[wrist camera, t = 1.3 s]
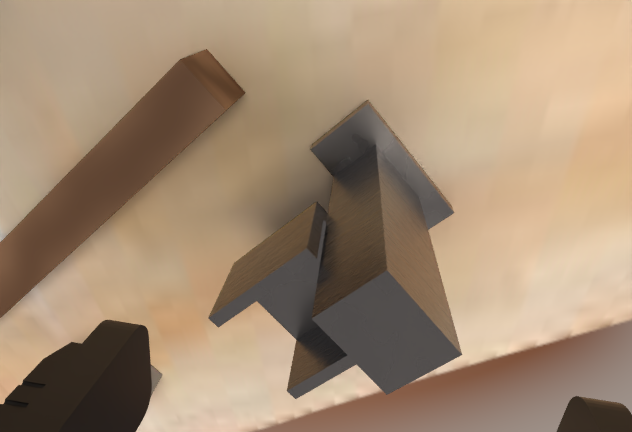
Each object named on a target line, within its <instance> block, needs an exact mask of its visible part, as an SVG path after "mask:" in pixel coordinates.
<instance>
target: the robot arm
mask: <svg viewBox="0 0 632 432" xmlns="http://www.w3.org/2000/svg"><path fill="white" fill-rule="evenodd" d="M151 391H152V379H151V364H150V350H149V335H148V330H147V328H146V327H145V326H143V325H137V324H131V323H125V322H119V321H112V320H105V321H103V322H101V323H100V324H99V325H98V326H97V328H96V329H95V330H94V331H93V332H92V333H91V334H90V335H89V337H88V338H87V339H86V340H85V341H84V342H83V343H82V344H80V343H74V342H71V343H69V344H68V345H66V346H64V347H63V348H61V349H59V350H58V351H56V352H54V353H53V354H51V355H49V356H48V357H46V358H44V359H43V360H42V361H41V362H40V363H39V364H38V365H37V366H36V367H35V369H34V370H33V371H32V372H31V373H30V374H29V375H28V376H27V377H26V378H25V379H24V380H23V383H22V385H18V386H17V387H16V388H15V389H14V390H13V392H12V393H11V394H10V395H9V396H8V397H7V398H6V399H5V402H4V404H0V432H136V430H137V428H138V427H139V425H140V423H141V421H142V420H143V418H144V416H145V413H146V411H147V408H148V405H149V402H150V397H151ZM557 432H632V415H631V413H630V411H629V410H628V409H627V408H626V407H625V406H624V405H623V404H621V403H616V402H609V401H603V400H597V399H591V398H585V397H579V396H576V397H573V398H572V399H571V400H570V402H569V403H568V406H567V408H566V410H565V413H564V415H563V418H562V420H561V422H560V425H559V427H558V430H557Z"/></svg>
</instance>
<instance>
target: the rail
mask: <svg viewBox="0 0 632 432" xmlns="http://www.w3.org/2000/svg"><path fill="white" fill-rule="evenodd" d="M244 94H245V92H244V91H243V89H242V88H241V87H240V86H239V85H238V84H237V83H236V82H235V80H234V79H233V78H232V77H231V76H230V75H229V74H228V73H227V71H226V70H225V69H224V68H223V67H222V66H221V65H220V63H219V62H218V61H217V60H216V59H215V58H214V57H213V56H212V54H211V53H210V52H209V51H208V50H207V49H206V50H204V51H201V52H198V53H196V54H193V55H191V56H188V57H186V58H183V59H180V60H179V61H178V62H177V63H176V64H175V65H174V66H173V67H172V68H171V69H170V70H169V71H168V72H167V73H166V74H165V75H164V76H163V77H162V79H161V80H160V81H159V82H158V83H157V84H156V85H155V86H154V87H153V88H152V89H151V90H150V91H149V92H148V93H147V94H146V95H145V96H144V97H143V98H142V99H141V100H140V101H139V102H138V103H137V104H136V105H135V106H134V107H133V108H132V109H131V110H130V111H129V112H128V113H127V114H126V115H125V116H124V117H123V118H122V119H121V120H120V121H119V122H118V123H117V124H116V125H115V126H114V127H113V128H112V129H111V130H110V131H109V132H108V134H107V135H106V136H105V137H104V138H103V139H102V140H101V141H100V142H99V143H98V144H97V145H96V146H95V147H94V148H93V149H92V150H91V151H90V152H89V153H88V154H87V155H86V156H85V157H84V158H83V159H82V160H81V161H80V162H79V163H78V164H77V165H76V166H75V167H74V168H73V169H72V170H71V171H70V172H69V173H68V174H67V175H66V176H65V177H64V178H63V179H62V180H61V181H60V182H59V183H58V184H57V185H56V186H55V187H54V189H53V190H52V191H51V192H50V193H49V194H48V195H47V196H46V197H45V198H44V199H43V200H42V201H41V202H40V203H39V204H38V205H37V206H36V207H35V208H34V209H33V210H32V211H31V212H30V213H29V214H28V215H27V216H26V217H25V218H24V219H23V220H22V221H21V222H20V223H19V224H18V225H17V226H16V227H15V228H14V229H13V230H12V231H11V232H10V233H9V234H8V235H7V236H6V237H5V238H4V239H3V240H2V241H1V242H0V318H1V317H2V316H3V315H4V314H5V313H6V312H7V311H8V310H9V309H11V308H12V307H13V306H14V305H15V304H16V303H17V302H18V301H19V300H20V299H21V298H23V297H24V296H25V295H26V294H27V293H28V292H29V291H30V290H31V289H32V288H33V287H35V286H36V285H37V284H38V283H39V282H40V281H41V280H42V279H43V278H44V277H45V276H46V275H48V274H49V273H50V272H51V271H52V270H53V269H54V268H55V267H56V266H57V265H58V264H60V263H61V262H62V261H63V260H64V259H65V258H66V257H67V256H68V255H69V254H70V253H72V252H73V251H74V250H75V249H76V248H77V247H78V246H79V245H80V244H81V243H82V242H84V241H85V240H86V239H87V238H88V237H89V236H90V235H91V234H92V233H93V232H94V231H95V230H97V229H98V228H99V227H100V226H101V225H102V224H103V223H104V222H105V221H106V220H107V219H109V218H110V217H111V216H112V215H113V214H114V213H115V212H116V211H117V210H118V209H119V208H121V207H122V206H123V205H124V204H125V203H126V202H127V201H128V200H129V199H130V198H131V197H133V196H134V195H135V194H136V193H137V192H138V191H139V190H140V189H141V188H142V187H143V186H144V185H146V184H147V183H148V182H149V181H150V180H151V179H152V178H153V177H154V176H155V175H156V174H158V173H159V172H160V171H161V170H162V169H163V168H164V167H165V166H166V165H167V164H168V163H170V162H171V161H172V160H173V159H174V158H175V157H176V156H177V155H178V154H179V153H180V152H182V151H183V150H184V149H185V148H186V147H187V146H188V145H189V144H190V143H191V142H192V141H193V140H195V139H196V138H197V137H198V136H199V135H200V134H201V133H202V132H203V131H204V130H205V129H207V128H208V127H209V126H210V125H211V124H212V123H213V122H214V121H215V120H216V119H217V118H219V117H220V116H221V115H222V114H223V113H224V112H225V111H226V110H227V109H228V108H229V107H231V106H232V105H233V104H234V103H235V102H236V101H237V100H238V99H239V98H240V97H241V96H242V95H244Z"/></svg>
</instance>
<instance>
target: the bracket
mask: <svg viewBox="0 0 632 432" xmlns="http://www.w3.org/2000/svg"><path fill="white" fill-rule="evenodd" d="M311 151H312V152H313V153H314V154H315V155H316V157H317V158H318V159H319V160H320V161H321V162H322V164H323V165H324V166H325V167H326V168H327V169H328V171H329V172H330V173H331V174H332V175H333V176H334V177H333V183H332V189H331V196H330V202H329V209H328V213H327V212H326V211H325V210H324V209H323V208H322V207H321V206H320V204H319V203H318V202H315V203H314V204H313V205H311V206H310V207H309V208H307V209H306V210H305V211H303V212H302V213H301V214H299V215H298V216H297V217H295V218H294V219H293V220H291V221H290V222H289V223H287V224H286V225H284V226H283V227H282V228H280V229H279V230H278V231H276V232H275V233H274V234H272V235H271V236H270V237H268V238H267V239H266V240H264V241H263V242H262V243H260V244H259V245H258V246H256V247H255V248H254V249H252V250H251V251H250V252H248V253H247V254H246V255H244V256H243V257H242V258H240V259H239V260H238V261H236V262H235V263H234V264H233V266H232V269H231V271H230V273H229V275H228V277H227V279H226V281H225V284H224V286H223V288H222V290H221V292H220V294H219V296H218V298H217V301H216V303H215V305H214V307H213V309H212V311H211V313H210V316H209V319H210V320H211V321H212V322H213V323H214V324H215V325H216V326H217V327H220V326H221V325H222V324H224V323H225V322H227V321H228V320H230V319H231V318H233V317H234V316H235V315H237V314H238V313H240V312H241V311H243V310H244V309H246V308H247V307H248V306H250V305H251V304H253V303H254V302H256V301H258V302H259V303H260V304H261V305H262V306H263V307H264V308H265V309H266V310H267V311H268V312H269V313H270V314H271V315H272V316H273V317H274V318H275V319H276V320H277V321H278V322H279V323H280V324H281V325H282V326H283V327H284V328H285V329H286V330H287V331H288V332H289V333H290V334H291V335H292V336H293V337H294V338H295V339H296V345H295V351H294V356H293V361H292V366H291V372H290V377H289V382H288V388H287V392H289V393H290V394H291V395H292V396H293V397H294V398H295V399H297V398H298V397H300V396H302V395H304V394H305V393H307V392H309V391H311V390H312V389H314V388H316V387H318V386H319V385H321V384H323V383H325V382H326V381H328V380H330V379H332V378H333V377H335V376H337V375H339V374H340V373H342V372H344V371H345V370H347V369H349V368H351V367H352V366H354V365H356V364H357V365H358V366H359V367H360V368H361V369H362V370H363V371H364V372H365V373H366V374H367V375H368V376H369V377H370V378H371V379H372V380H373V381H374V382H375V383H376V384H377V385H378V386H379V387H380V388H381V389H382V390H383V391H384V392H385V393H386V394H389V393H391V392H393V391H395V390H397V389H399V388H401V387H402V386H404V385H406V384H408V383H410V382H412V381H414V380H416V379H417V378H419V377H421V376H423V375H425V374H427V373H429V372H431V371H432V370H434V369H436V368H438V367H440V366H442V365H444V364H446V363H447V362H449V361H451V360H453V359H455V358H457V357H459V356H461V355H462V353H461V349H460V345H459V342H458V338H457V334H456V331H455V327H454V323H453V320H452V316H451V312H450V309H449V305H448V301H447V298H446V294H445V290H444V287H443V283H442V279H441V276H440V272H439V268H438V265H437V261H436V257H435V254H434V250H433V246H432V243H431V239H430V235H429V232H428V230H429V229H430V228H432V227H433V226H435V225H436V224H438V223H439V222H441V221H442V220H444V219H445V218H447V217H448V216H450V215H452V214H453V213H454V211H453V209H452V206H451V205H450V203H449V202H448V201H447V200H446V198H445V197H444V196H443V194H442V193H441V192H440V191H439V189H438V188H437V187H436V186H435V184H434V183H433V182H432V181H431V179H430V178H429V177H428V175H427V174H426V173H425V172H424V170H423V169H422V168H421V167H420V165H419V164H418V163H417V162H416V160H415V159H414V158H413V156H412V155H411V154H410V153H409V151H408V150H407V149H406V148H405V146H404V145H403V144H402V142H401V141H400V140H399V139H398V137H397V136H396V135H395V134H394V132H393V131H392V130H391V129H390V127H389V126H388V125H387V123H386V122H385V121H384V120H383V118H382V117H381V116H380V115H379V113H378V112H377V111H376V110H375V108H374V107H373V106H372V104H371V103H370V102H369V101H368V100H367V101H366V102H365V103H363V104H362V105H361V106H360V107H358V108H357V109H356V110H355V111H353V112H352V113H351V114H350V115H348V116H347V117H346V118H345V119H343V120H342V121H341V122H340V123H338V124H337V125H336V126H335V127H334V128H332V129H331V130H330V131H329V132H327V133H326V134H325V135H324V136H322V137H321V138H320V139H319V140H317V141H316V142H315V143H314V144H312V147H311Z"/></svg>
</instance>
